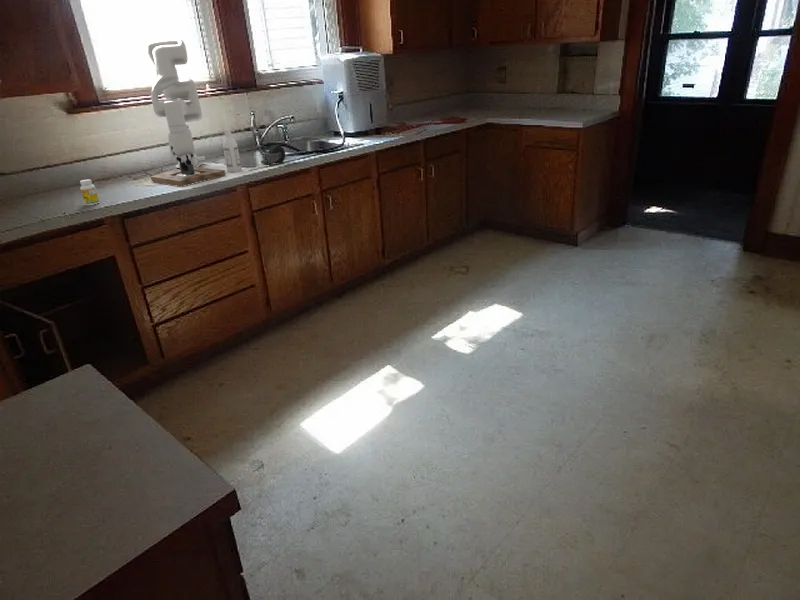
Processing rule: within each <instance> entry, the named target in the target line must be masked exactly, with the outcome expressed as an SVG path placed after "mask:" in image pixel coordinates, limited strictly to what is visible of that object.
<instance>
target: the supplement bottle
mask: <svg viewBox="0 0 800 600" xmlns="http://www.w3.org/2000/svg"><path fill="white" fill-rule="evenodd" d="M92 181H93V180H92V179H81V180H80V181H79V183H80V185H81V186H80V187H79V188H80V192H81V196H82V199H83V202H84V205H85V206H95V205H94V204H96V205H98V204H97V203H99V204H100V203H101V202H100V201H101V200H100V198H99V194H98V192H97V188H96V186H95V184H92V183H93V182H92Z"/></svg>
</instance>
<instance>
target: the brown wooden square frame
mask: <svg viewBox="0 0 800 600" xmlns="http://www.w3.org/2000/svg"><path fill="white" fill-rule="evenodd" d="M193 168H194V171H197V172H200V174H196V175H192V176H187V177H178V176H176V175H177V174H180V173H181V170H180V169H178V170H173V171H169V172H164V173H160V174H156V175H151V176H150V179H151V182H152V181H153V182H152V183H156V182H158V183H157V184H162V183H164V185H168V184H170V186H174V185H177V186H176V187H180V186H182V187H185V186H184V185H186V186H189V185H188V184H190V185H193V184H192V183H194V184H197V183H196V182H198V183H201V182H200V181H202V182H204V180H206V181H209V180H208V179H210V180H213V178H214V179H218V178H221V176H222V177H225V175H226V170H225V169H218V168H210V167H203V166H198V167H196V166H195V167H193ZM226 176H227V175H226ZM217 177H218V178H217Z"/></svg>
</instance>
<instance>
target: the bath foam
mask: <svg viewBox="0 0 800 600" xmlns="http://www.w3.org/2000/svg"><path fill="white" fill-rule="evenodd" d="M223 133H224V139H223V141H222V150H223V154H224V160H225V161H224V162H225V165H226V166H225V167H226V170H227V172H228V173H237V171H238V172H241V171H242V170H243V168H242V164H241V163H242V162H241V156H240V152H239V145H238V143H237V141H236V140H235V139H234V137H233V136H232V131H231V128H224V129H223Z"/></svg>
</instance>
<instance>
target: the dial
mask: <svg viewBox="0 0 800 600" xmlns="http://www.w3.org/2000/svg"><path fill="white" fill-rule="evenodd" d="M179 165H180V164H179ZM186 168H187V171H182V169H181V165H180V169H179V170H181V173H180V174H177V175H176V176H178V177H187V176H192V175H196V174H200V172H197V171H194V168H193V164H186Z"/></svg>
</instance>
